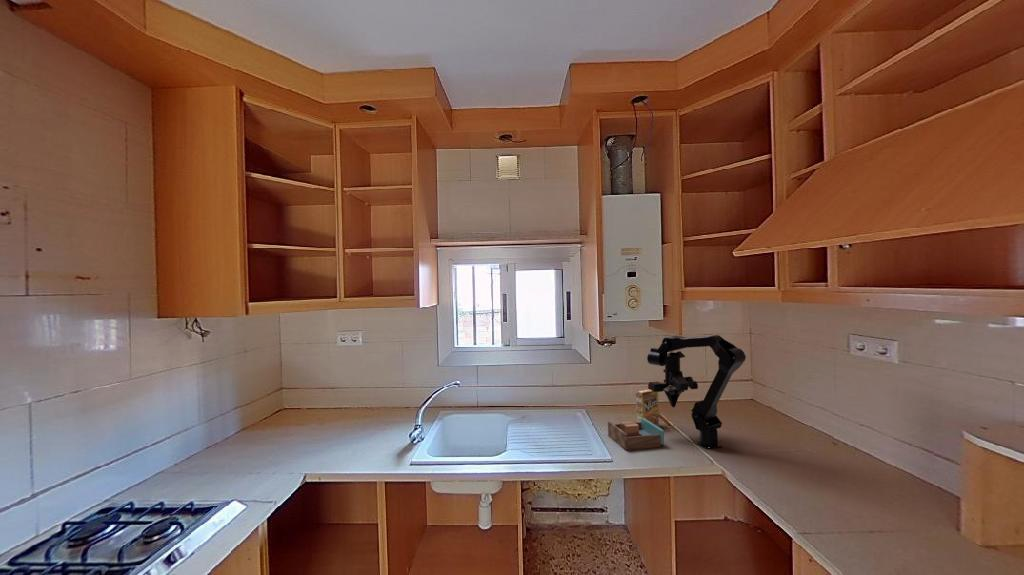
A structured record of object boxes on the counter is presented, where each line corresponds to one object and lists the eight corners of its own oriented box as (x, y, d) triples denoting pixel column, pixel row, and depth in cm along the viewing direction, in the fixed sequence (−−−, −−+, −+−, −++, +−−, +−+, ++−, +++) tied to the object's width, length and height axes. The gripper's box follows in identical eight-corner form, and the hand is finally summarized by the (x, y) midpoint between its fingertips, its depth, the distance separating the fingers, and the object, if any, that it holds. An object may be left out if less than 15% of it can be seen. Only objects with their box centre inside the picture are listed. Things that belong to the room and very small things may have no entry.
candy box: (643, 429, 191) (642, 392, 191) (636, 426, 195) (635, 390, 195) (659, 426, 195) (658, 389, 195) (652, 423, 199) (651, 387, 199)
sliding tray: (664, 443, 171) (664, 430, 171) (628, 447, 169) (628, 433, 169) (644, 430, 187) (643, 417, 187) (610, 433, 184) (610, 420, 184)
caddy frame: (661, 446, 171) (661, 431, 171) (625, 450, 168) (625, 434, 168) (641, 432, 187) (641, 418, 187) (608, 436, 184) (607, 421, 184)
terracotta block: (639, 438, 175) (638, 425, 175) (626, 439, 174) (626, 426, 174) (633, 434, 180) (632, 421, 180) (621, 435, 179) (620, 422, 179)
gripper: (661, 373, 174) (661, 414, 174) (706, 370, 178) (706, 410, 178) (647, 367, 185) (647, 406, 185) (689, 365, 188) (690, 403, 189)
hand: (673, 407), depth 184 cm, fingers closed
